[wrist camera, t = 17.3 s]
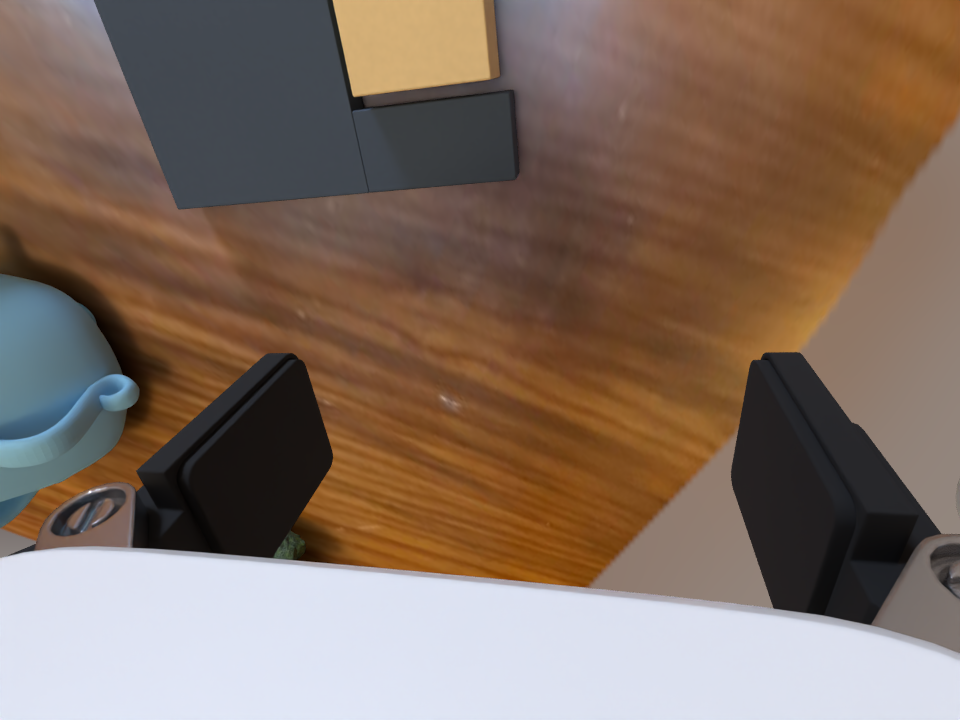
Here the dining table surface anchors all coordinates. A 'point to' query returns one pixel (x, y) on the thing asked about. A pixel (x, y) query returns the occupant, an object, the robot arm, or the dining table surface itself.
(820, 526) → the robot arm
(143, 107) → the u-shaped block
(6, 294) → the decorative pot
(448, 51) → the pad
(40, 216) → the dining table surface
